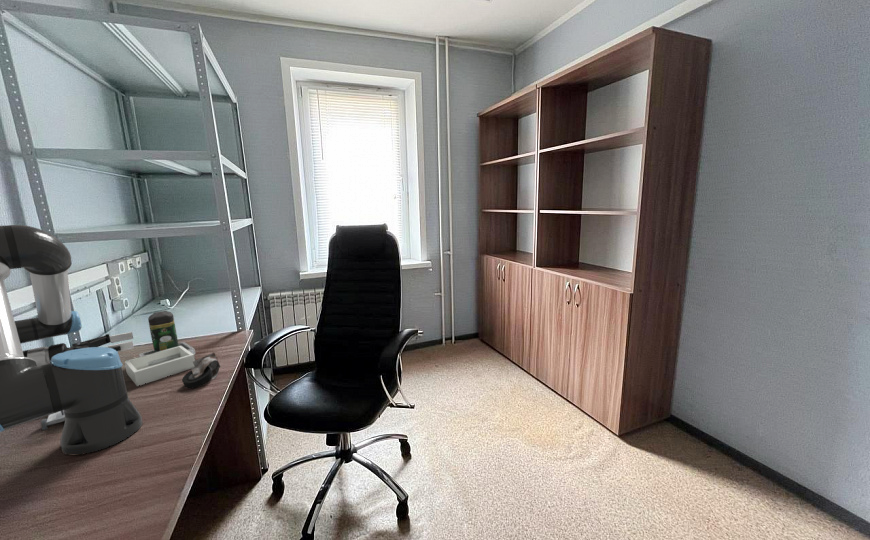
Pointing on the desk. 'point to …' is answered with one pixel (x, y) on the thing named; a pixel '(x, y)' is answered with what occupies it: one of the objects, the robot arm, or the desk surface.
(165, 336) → the coffee jar
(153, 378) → the tray
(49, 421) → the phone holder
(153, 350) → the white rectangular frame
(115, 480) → the desk surface
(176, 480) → the desk surface
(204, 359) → the caster wheel
